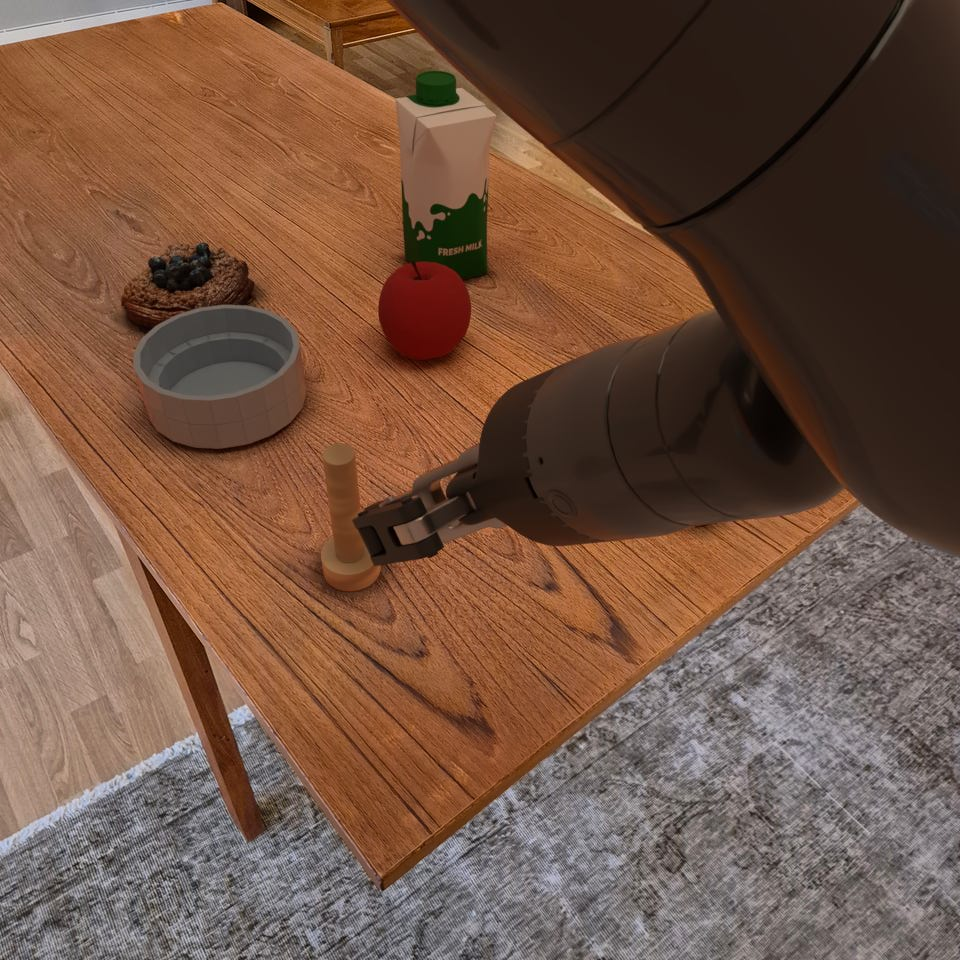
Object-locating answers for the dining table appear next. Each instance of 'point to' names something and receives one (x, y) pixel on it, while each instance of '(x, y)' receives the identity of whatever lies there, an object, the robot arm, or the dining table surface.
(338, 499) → the peg on round base
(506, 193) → the dining table surface
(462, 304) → the apple
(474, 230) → the milk carton
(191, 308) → the pastry
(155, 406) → the bowl
